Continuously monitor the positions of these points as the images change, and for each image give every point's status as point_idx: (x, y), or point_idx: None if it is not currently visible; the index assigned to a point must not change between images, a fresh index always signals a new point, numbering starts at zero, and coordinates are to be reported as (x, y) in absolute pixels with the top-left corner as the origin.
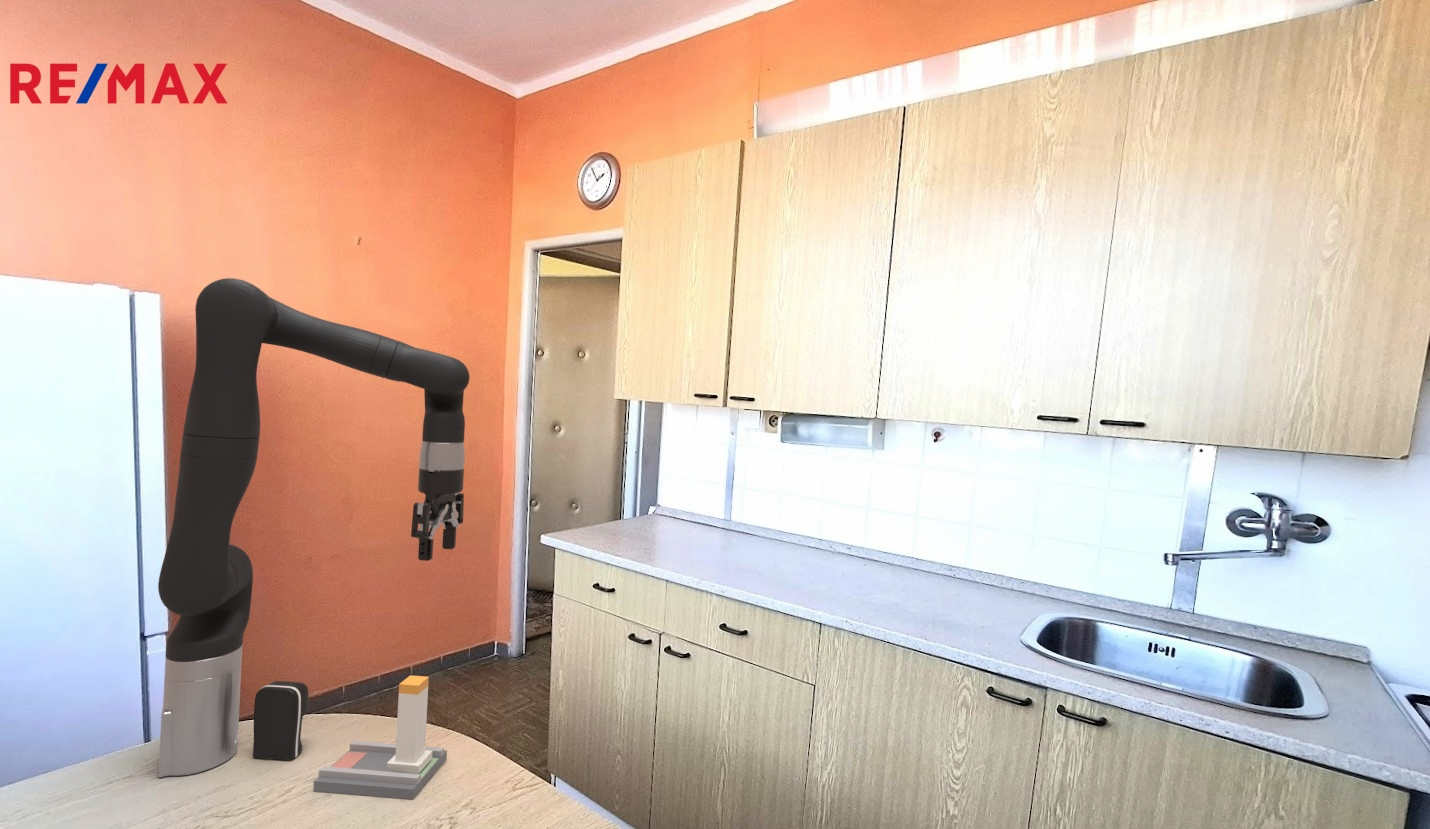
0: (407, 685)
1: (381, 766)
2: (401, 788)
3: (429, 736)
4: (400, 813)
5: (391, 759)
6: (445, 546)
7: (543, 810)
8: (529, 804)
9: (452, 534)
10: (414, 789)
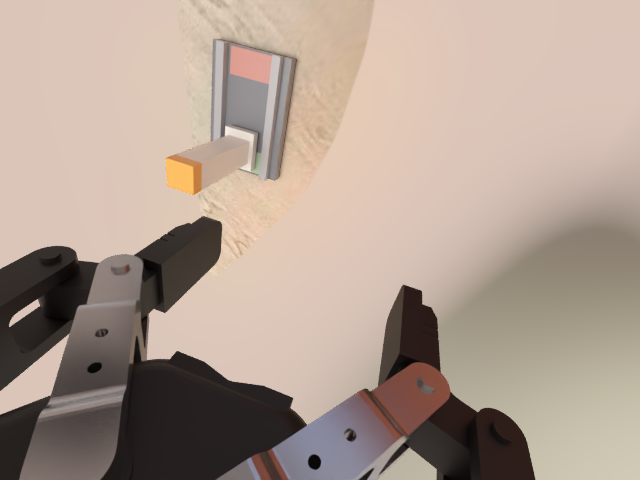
0: (167, 170)
1: (243, 113)
2: None
3: (328, 147)
4: None
5: (232, 129)
6: (397, 298)
7: None
8: None
9: (383, 368)
10: None
